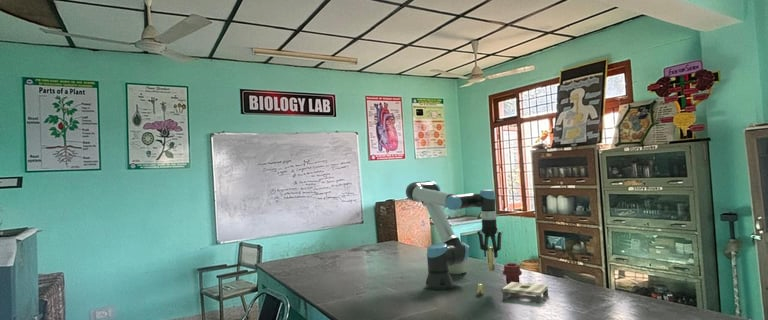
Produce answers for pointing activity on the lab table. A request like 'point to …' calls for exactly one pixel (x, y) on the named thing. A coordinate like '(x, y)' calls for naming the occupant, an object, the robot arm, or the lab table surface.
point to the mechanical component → (512, 272)
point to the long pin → (490, 259)
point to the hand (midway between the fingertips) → (491, 263)
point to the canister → (459, 267)
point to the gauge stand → (526, 290)
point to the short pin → (480, 289)
